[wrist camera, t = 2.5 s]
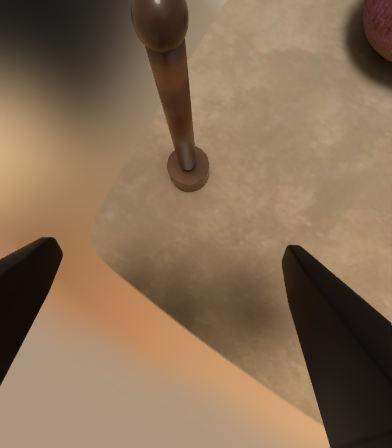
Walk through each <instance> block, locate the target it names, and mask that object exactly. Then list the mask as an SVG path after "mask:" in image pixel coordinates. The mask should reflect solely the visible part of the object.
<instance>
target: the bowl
mask: <svg viewBox="0 0 392 448" xmlns="http://www.w3.org/2000/svg"><path fill="white" fill-rule="evenodd" d="M363 27H364V31H365V35H366V37H367V39H368V41H369V43H370V45H371V46H372V47H373V48H374V49H375V50H376V51H377V53H378V54H380V55H381V56H382V57H384V58H385V59H386V60H388V61H390V62H392V0H365V2H364V9H363Z"/></svg>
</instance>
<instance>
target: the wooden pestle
mask: <svg viewBox="0 0 392 448" xmlns="http://www.w3.org/2000/svg"><path fill="white" fill-rule="evenodd" d="M131 17H132V22H133V26H134V29H135V31H136V33H137V35H138V37H139V39H140V40H141V41H142V43H143V44H144V45H145V47H146V51H147V54H148V57H149V61H150V65H151V68H152V71H153V75H154V78H155V82H156V86H157V89H158V92H159V96H160V99H161V103H162V106H163V110H164V113H165V117H166V120H167V124H168V127H169V131H170V134H171V138H172V141H173V145H174V148H175V150H174V151H173V152H172V154H171V155H170V157H169V159H168V164H167V168H168V172H169V174H170V177H171V179H172V181H173V183H174V184H175V186H176V187H178V188H179V189H181V190H183V191H187V192H192V191H196V190H198V189H200V188H201V187H202V186H203V185H204V184H205V183H206V181H207V179H208V171H209V161H208V158H207V156H206V154H205V153H204V152H203V151H202V150H201V149H200V148H198V147H196V146H195V144H194V133H193V122H192V111H191V100H190V89H189V78H188V67H187V57H186V45H185V36H186V33H187V29H188V21H189V20H188V19H189V18H188V8H187V4H186V1H185V0H132V3H131Z"/></svg>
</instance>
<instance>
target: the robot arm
mask: <svg viewBox="0 0 392 448" xmlns="http://www.w3.org/2000/svg"><path fill="white" fill-rule="evenodd" d="M62 257H63V253H62V250H61V248H60V246H59V245H58V243H57V241H56V239H54V238H53V237H42V238H39V239H37V240H36V241H34V242H32V243H30V244H28V245H26V246H24V247H22V248H21V249H19V250H17V251H15V252H13V253H11V254H9V255H8V256H6V257H4V258H2V259H0V385H1V384H2V381H3V379H4V378H5V376H6V374H7V372H8V370H9V368H10V366H11V364H12V362H13V360H14V358H15V357H16V355H17V353H18V351H19V349H20V347H21V345H22V343H23V341H24V339H25V337H26V335H27V333H28V331H29V330H30V328H31V326H32V324H33V322H34V320H35V318H36V316H37V314H38V312H39V310H40V308H41V306H42V304H43V303H44V301H45V299H46V296H47V295H48V292H49V290H50V288H51V285H52V283H53V280H54V278H55V275H56V273H57V270H58V268H59V265H60V262H61V260H62ZM282 269H283V275H284V281H285V287H286V293H287V298H288V303H289V307H290V311H291V314H292V318H293V321H294V324H295V328H296V331H297V335H298V338H299V342H300V345H301V348H302V352H303V355H304V359H305V362H306V366H307V369H308V372H309V376H310V379H311V383H312V386H313V389H314V393H315V396H316V400H317V403H318V407H319V410H320V413H321V417H322V420H323V424H324V427H325V431H326V434H327V437H328V440H329V444H330V447H331V448H392V325H391V322H389V321H388V320H387V319H386V318H385V317H384V316H382V315H381V314H380V313H379V312H378V311H376V310H375V309H374V308H373V307H372V306H371V305H369V304H368V303H367V302H366V301H365V300H364V299H362V298H361V297H360V296H359V295H358V294H356V293H355V292H354V291H353V290H352V289H351V288H349V287H348V286H347V285H346V284H345V283H344V282H342V281H341V280H340V279H339V278H338V277H336V276H335V275H334V274H333V273H332V272H331V271H329V270H328V269H327V268H326V267H325V266H324V265H322V264H321V263H320V262H319V261H318V260H316V259H315V258H314V257H313V256H312V255H311V254H309V253H308V252H307V251H306V250H305V249H304V248H302V247H301V246H299V245H288V246H287V248H286V250H285V253H284V256H283V259H282Z"/></svg>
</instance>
